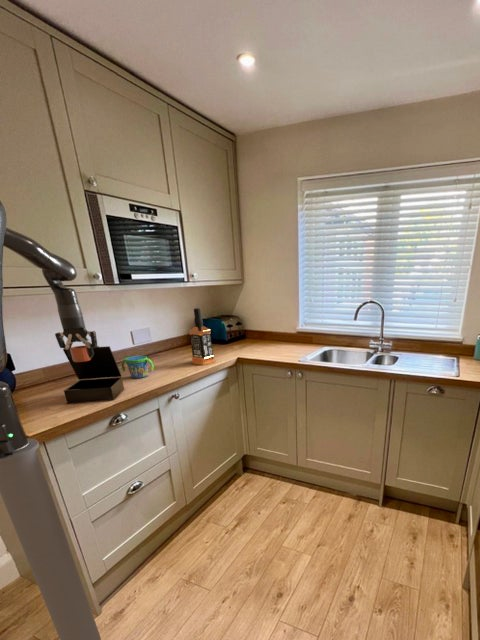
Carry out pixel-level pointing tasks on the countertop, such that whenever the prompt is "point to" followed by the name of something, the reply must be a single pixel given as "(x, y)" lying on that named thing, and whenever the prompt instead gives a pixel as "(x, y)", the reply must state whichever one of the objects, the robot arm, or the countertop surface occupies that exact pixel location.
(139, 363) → the snack cup
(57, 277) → the robot arm
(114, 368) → the lid
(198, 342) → the whiskey bottle
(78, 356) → the orange clay pot
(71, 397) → the black box base
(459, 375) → the countertop surface
